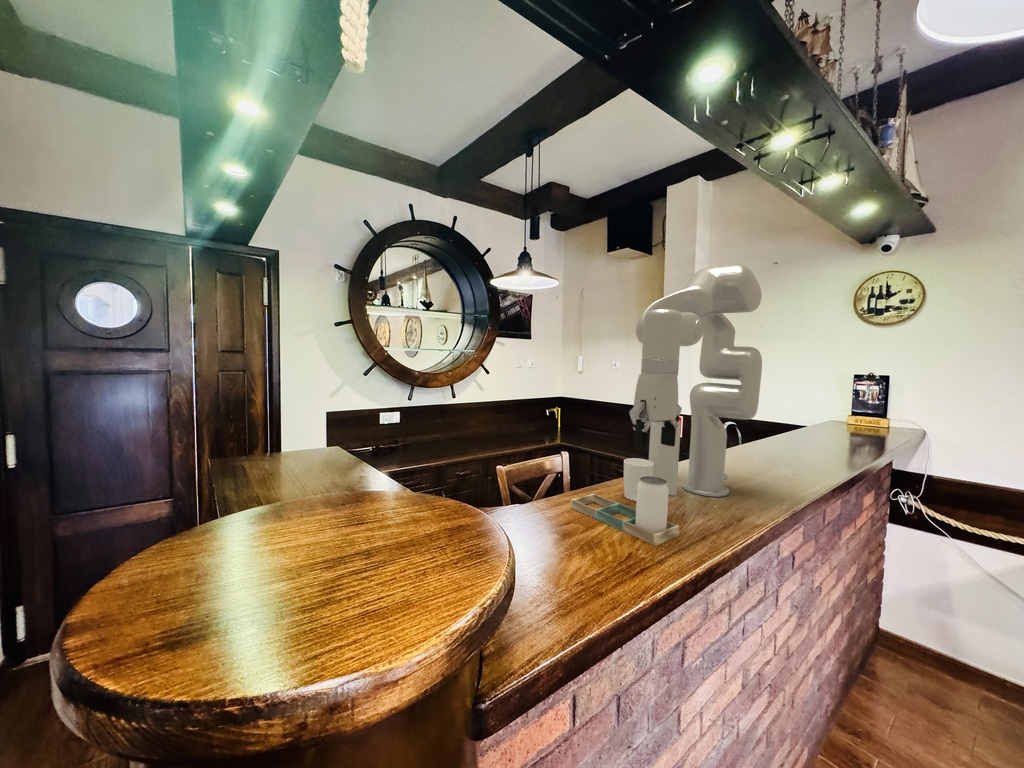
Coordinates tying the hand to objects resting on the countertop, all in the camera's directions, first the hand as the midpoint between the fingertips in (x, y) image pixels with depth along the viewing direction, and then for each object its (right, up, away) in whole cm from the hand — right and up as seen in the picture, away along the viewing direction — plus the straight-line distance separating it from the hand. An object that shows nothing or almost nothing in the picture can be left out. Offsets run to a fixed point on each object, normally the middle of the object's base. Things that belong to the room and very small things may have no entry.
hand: (654, 447), depth 90 cm
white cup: (+3, -18, +25) cm, 31 cm away
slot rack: (-5, -19, +8) cm, 21 cm away
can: (0, -19, +2) cm, 19 cm away
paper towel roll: (+11, -18, +29) cm, 36 cm away
